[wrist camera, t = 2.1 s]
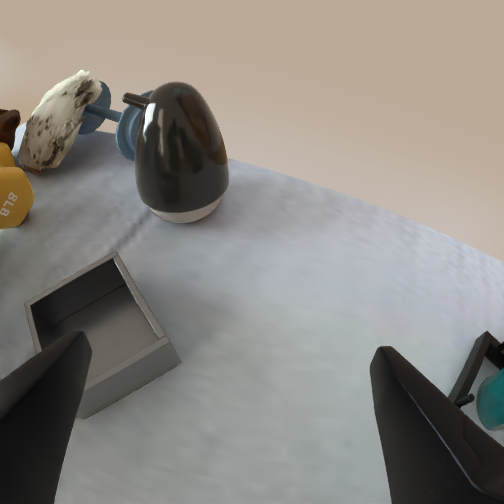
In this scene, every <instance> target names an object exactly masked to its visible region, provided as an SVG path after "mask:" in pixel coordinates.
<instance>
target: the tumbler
mask: <svg viewBox="0 0 504 504" xmlns="http://www.w3.org/2000/svg"><path fill="white" fill-rule="evenodd" d="M477 412H478V415H479V418H480V420H481V422H482V424H483V425H484V426H485V427H486V428H487V429H489V430H491V431H499V430H502V429H504V367H503V368H501V369H500V370H498V371H497V372H495V373H493V374H492V375H491V376H489V377H488V378H486V379H485V380H484V381H483V383H482V384H481V386H480V388H479V391H478V395H477Z"/></svg>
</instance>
